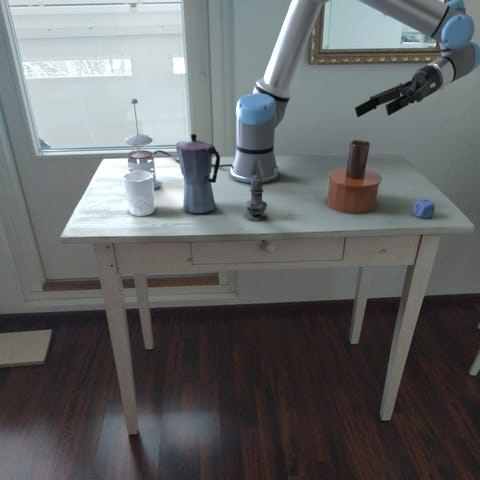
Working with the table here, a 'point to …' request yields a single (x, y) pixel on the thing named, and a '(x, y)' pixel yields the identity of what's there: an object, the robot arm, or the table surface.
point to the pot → (351, 198)
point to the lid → (356, 168)
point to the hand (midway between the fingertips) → (371, 111)
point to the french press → (141, 153)
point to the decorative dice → (424, 208)
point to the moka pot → (197, 174)
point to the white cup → (139, 192)
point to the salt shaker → (256, 200)
